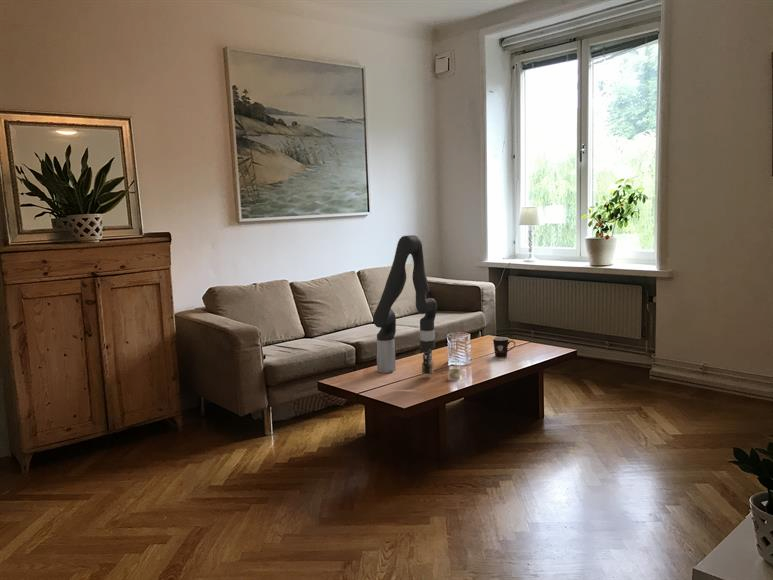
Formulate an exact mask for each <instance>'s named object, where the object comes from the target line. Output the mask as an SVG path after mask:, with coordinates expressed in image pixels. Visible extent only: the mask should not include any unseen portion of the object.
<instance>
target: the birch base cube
mask: <svg viewBox="0 0 773 580" xmlns="http://www.w3.org/2000/svg"><path fill="white" fill-rule="evenodd" d="M448 372H449V374H448V377H449V379H460V376H461V366H458V365H457V366H456V365H455V366H453V365H452V366H449V369H448Z"/></svg>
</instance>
